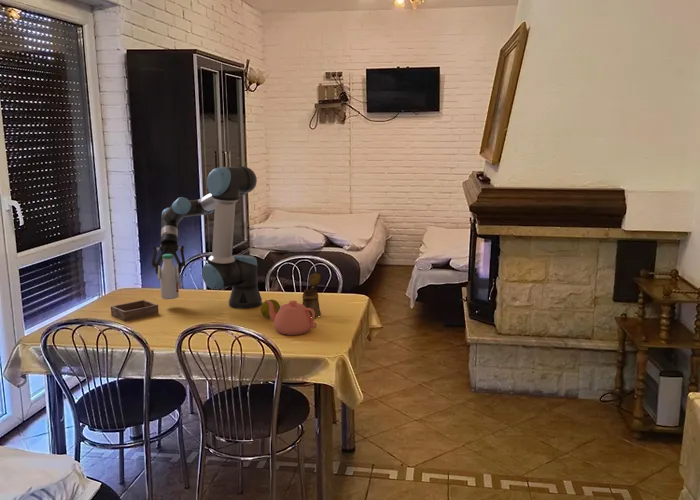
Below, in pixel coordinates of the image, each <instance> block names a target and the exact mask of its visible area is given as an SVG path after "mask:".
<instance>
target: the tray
mask: <svg viewBox="0 0 700 500" xmlns="http://www.w3.org/2000/svg"><path fill="white" fill-rule="evenodd" d="M110 314H111V316H112V317H114V318H116V319H119V320H122V321H123V322H127V321H131V320H138V319H140V318H145V317H146V316H147V317H150V315H151V316H155V315H154V314H156V315H158V314H159V305H158V304H157V303H153V302H151V301H148V300H147V299H146V300H145V299H141V300H136V301H131V302H127V303H121V304H120V303H119V304H116V305H111V306H110ZM159 315H160V314H159Z"/></svg>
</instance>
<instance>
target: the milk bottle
mask: <svg viewBox="0 0 700 500" xmlns="http://www.w3.org/2000/svg"><path fill="white" fill-rule="evenodd" d="M162 257H163V261H162V264H161V265H162V266H161V267H160V268H161V271H160V281H159V282H160V296H161V299H162V300H174V299H178V298H179V295H180V293H179V292H180V291H179V280H177V277H176V274H177V266H175V263H174V256H173V254H164V255H163V256H162Z"/></svg>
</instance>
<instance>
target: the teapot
mask: <svg viewBox="0 0 700 500" xmlns="http://www.w3.org/2000/svg"><path fill="white" fill-rule="evenodd" d="M268 300H269V299H264V302H265V301H266V302H267V303H268V305H269V310H270V318H271V319H270V320H271V321H272V322H273V328H274V329H275V331H276V332H277V333H279V334H281V335H285V334H287V335H288V336H297V334H300V335H304V334H306V332H307V333H308V332H309V331H310V330H311V329H316V328H317V326H318V325H317V322H315V319H316V318H315V312H314V310H313V309H311V308H306V307H305V306H304V305H303V304H302V303H299V302H297V300H290V301H288V303H284V304H282V305H280V309H279V311H278V312H277V314H276V313H275V311H274V306H273V304H272V302H270V301H268ZM308 310H309V311H311V312H312V318H311V315H310V313H309V312H308ZM303 333H304V334H303ZM287 335H286V336H287Z"/></svg>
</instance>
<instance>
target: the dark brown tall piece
mask: <svg viewBox="0 0 700 500" xmlns="http://www.w3.org/2000/svg"><path fill="white" fill-rule="evenodd" d="M322 280H323V276H322V274H321V273H320V272H318V271H315V272H313V273H311V274H310V275H309V277H308V284H309V285H310V288H309V289H305V290H303V293H302V303H301V304H303V305H304V306H305V307H306V308H311V309H313V310H314V312H315V317H318V316H320V315H321V316H322V313H321V312H322V311H321V309H320V301H319V293H318V290H317V286H319V285H320V284H321V283H322ZM308 312H309V313H310V315H311V317H312V312H311V311H309V310H308ZM321 316H320V317H321Z"/></svg>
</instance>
